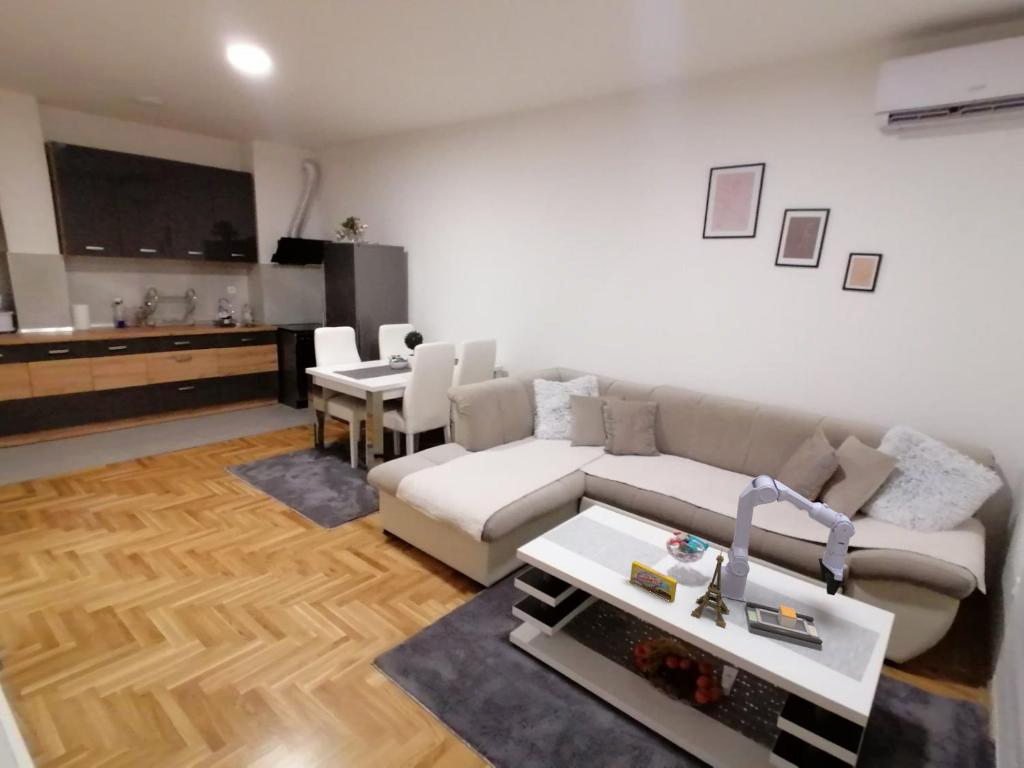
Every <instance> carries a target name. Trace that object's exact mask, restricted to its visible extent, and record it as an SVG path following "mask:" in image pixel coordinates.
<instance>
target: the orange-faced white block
mask: <svg viewBox="0 0 1024 768" xmlns="http://www.w3.org/2000/svg"><path fill="white" fill-rule="evenodd" d="M778 609H779V612H778V617H777V618H778V621H779V625H780V626H783V627H787V628H791V629H795V624H796V620H797V617H796V614H795V613H796V611H795V609H794V608H793V607H790V606H789V607H788V606H785V605H781V604H780V605H779V608H778Z"/></svg>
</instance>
